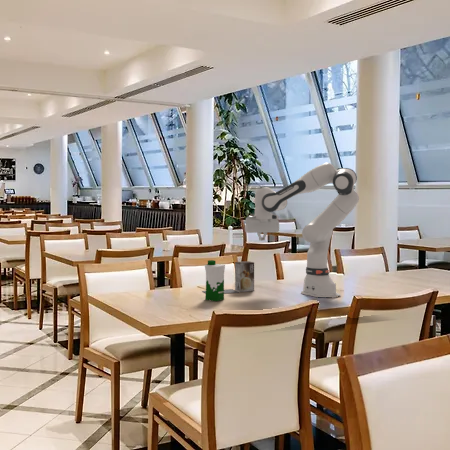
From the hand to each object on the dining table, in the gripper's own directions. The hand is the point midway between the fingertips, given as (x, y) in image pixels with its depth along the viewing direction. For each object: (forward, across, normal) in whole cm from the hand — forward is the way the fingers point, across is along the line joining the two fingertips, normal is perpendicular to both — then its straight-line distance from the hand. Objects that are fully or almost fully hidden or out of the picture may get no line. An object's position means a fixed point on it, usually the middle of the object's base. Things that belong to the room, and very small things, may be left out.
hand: (262, 240), depth 329 cm
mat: (+28, -25, 0) cm, 37 cm away
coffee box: (+28, -10, 0) cm, 30 cm away
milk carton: (+28, -36, -19) cm, 50 cm away
